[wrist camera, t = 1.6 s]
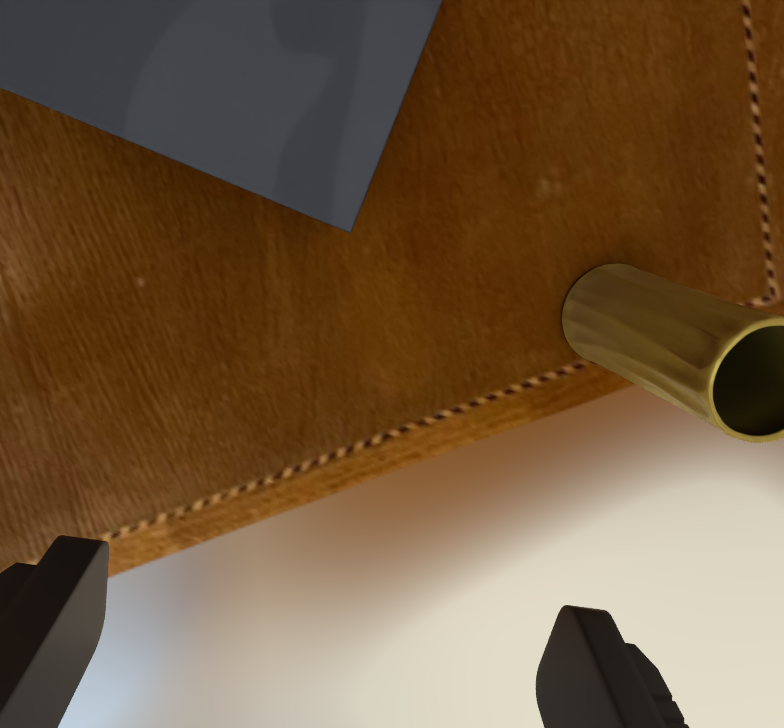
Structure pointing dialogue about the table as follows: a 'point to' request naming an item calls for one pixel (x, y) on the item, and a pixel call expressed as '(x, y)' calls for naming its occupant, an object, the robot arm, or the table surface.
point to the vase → (683, 347)
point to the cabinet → (230, 84)
